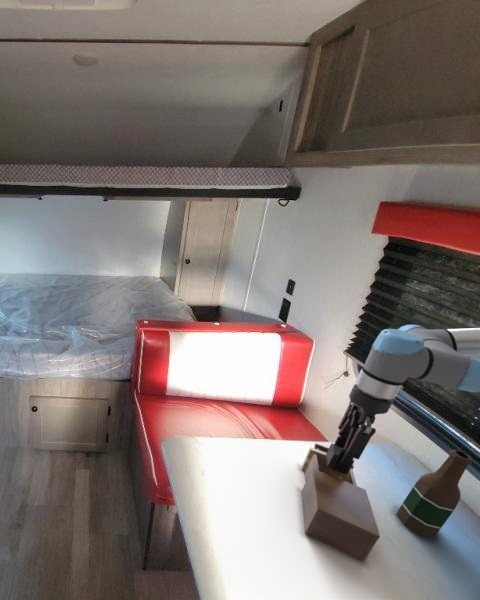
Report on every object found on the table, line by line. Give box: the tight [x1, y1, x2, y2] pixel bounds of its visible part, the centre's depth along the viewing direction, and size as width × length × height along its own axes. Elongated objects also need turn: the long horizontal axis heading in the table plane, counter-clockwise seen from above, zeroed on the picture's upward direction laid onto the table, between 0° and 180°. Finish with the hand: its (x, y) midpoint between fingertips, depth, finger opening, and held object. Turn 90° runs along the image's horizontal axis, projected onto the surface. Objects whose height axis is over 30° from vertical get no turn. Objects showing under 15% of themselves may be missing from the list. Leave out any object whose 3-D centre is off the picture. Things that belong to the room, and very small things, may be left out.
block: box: [326, 442, 355, 474], centre depth 87 cm, size 4×4×4 cm
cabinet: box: [300, 468, 381, 563], centre depth 81 cm, size 13×11×9 cm
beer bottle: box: [395, 448, 473, 540], centre depth 80 cm, size 8×8×24 cm
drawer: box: [301, 443, 358, 486], centre depth 92 cm, size 17×10×8 cm, turn 151°
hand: (336, 463), depth 88 cm, fingers closed on block, 4 cm apart
